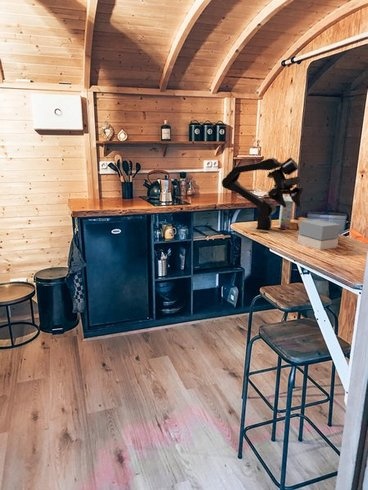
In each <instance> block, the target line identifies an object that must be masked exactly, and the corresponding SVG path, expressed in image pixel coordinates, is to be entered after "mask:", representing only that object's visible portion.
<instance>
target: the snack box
mask: <svg viewBox="0 0 368 490" xmlns="http://www.w3.org/2000/svg"><path fill="white" fill-rule="evenodd" d="M283 198H284V201H285V203H286V207H285V208H284V207H283V206H282V205H280V208H279V218H278V222H279V223H278V225H279V229H282V230H284V229H285V230H290V227H291V220H292V214H293V213H292V211H293V205H294V202H293V200H292V199H291V197H290V195H289V196H287V195H283Z"/></svg>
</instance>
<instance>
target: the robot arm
mask: <svg viewBox="0 0 368 490" xmlns="http://www.w3.org/2000/svg"><path fill="white" fill-rule="evenodd" d="M299 169H300V167H299V165H298V163H297V162H296V161H295V160H294V159H293V157H290V158H287V159H286V160H285V161H284V162H280V161H278V160H277V159H276V158H275V157H274V158H272V157H271V158H266V159H264V160H261V161H259V162H255V163H254V162H253V163H249V164H243V165H235V166H233V168H232V169H231V170H230V172H228V174H227V175H226V177H224V178H222V181H221V186H222V188H224V189H226V190H229V191H232V192H234V193H237V194H238V196H239V195H240V196H241V197H242V198H244V199H245V200H247V201H248V202H250V203H251V204H253V205H254V206H255V207H257V210H258V211H257V213H256V217H257V223H256V224H257V225H256V228H255V229H256V230H263V231H264V230H265V231H269V230H270V229H272V224H273V223H272V222H273V220H272V216H273V215H274V214H275V212H276V211H277V207H276V204H275V203H274V202H273V201H275V202H276V203H278V204H279V205H280V206H281V205H282V206H283V207H284V208H285V207H286V203H285V201H284V198H283V196H284V195H289V196H290V197H291V199H292V201H293V204H295V205H296V207H298V208H300V207H301V201H300V200H301V197H300V196H301V195H302V194H303V192H304V189H303V187H301V186H296V185H299V184H300V182H301V179H300V178H299V176H294V177H288V178H286V175H287V176H290V175H292V174H293V173H295V172H296V171H298V170H299ZM254 171H268V174H267V176H266V177H267V178H269V179H272V180H273V182H274V184H273V187H272V188H271V189H270V190H269V191H268V194H267V195H268V198H265V199H262V198H260V196H258V195H256V194H254V193H253V192H251V191H250V190H248V189H247V188H246V187H244V186H242V185H241V184H240V182H239V181H238V180H239V178H240V176H241V174H242V173H246V172H254ZM294 186H295V187H294ZM270 199H271V200H273V201H271V200H270Z"/></svg>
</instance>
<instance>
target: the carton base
mask: <svg viewBox="0 0 368 490" xmlns="http://www.w3.org/2000/svg"><path fill="white" fill-rule="evenodd" d="M338 242H339V238H333V239H326V240H319V239H315V238H312V237H308V236H305V235H301V234H298V235H297V242H296V243H297V244H300V245H304V246H307V247H309V248H313V249H316V250H319V251H321V250H328V249H335V248H338V244H339V243H338Z"/></svg>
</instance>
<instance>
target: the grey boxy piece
mask: <svg viewBox="0 0 368 490" xmlns="http://www.w3.org/2000/svg"><path fill="white" fill-rule="evenodd" d="M297 227H298V235H300V234H301V235H305V236H308V237H312V238H315V239H319V240H326V239H333V238H337V239H339V236H340V231H341V230H340V229H341V224H340V223H335V222H331V221H328V220H323V219H319V218H312V219H309V218H307V217H298V222H297Z"/></svg>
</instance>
